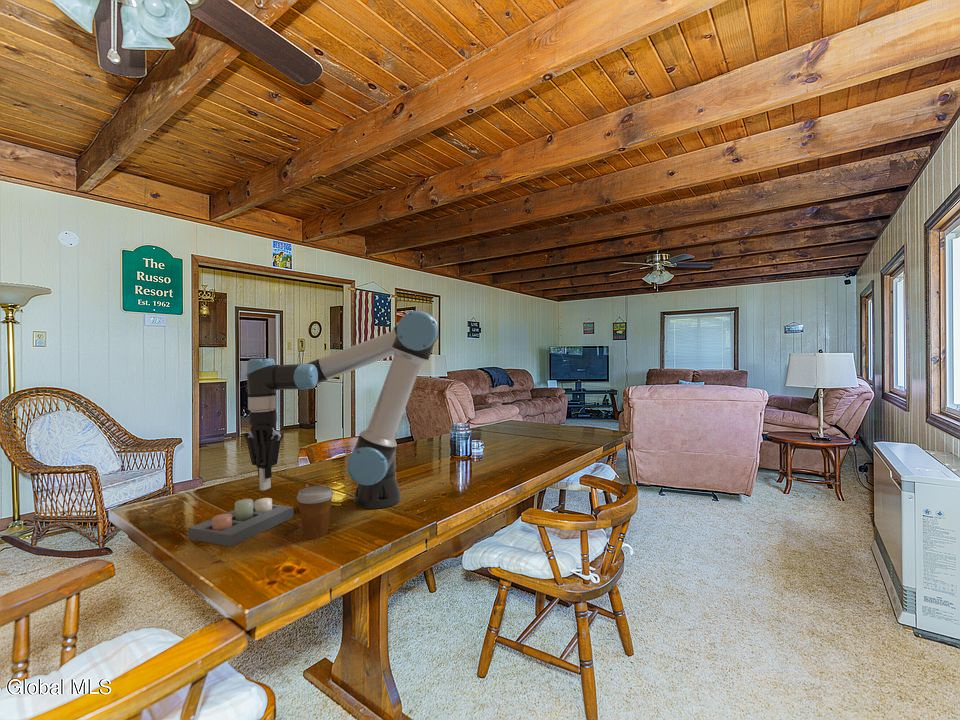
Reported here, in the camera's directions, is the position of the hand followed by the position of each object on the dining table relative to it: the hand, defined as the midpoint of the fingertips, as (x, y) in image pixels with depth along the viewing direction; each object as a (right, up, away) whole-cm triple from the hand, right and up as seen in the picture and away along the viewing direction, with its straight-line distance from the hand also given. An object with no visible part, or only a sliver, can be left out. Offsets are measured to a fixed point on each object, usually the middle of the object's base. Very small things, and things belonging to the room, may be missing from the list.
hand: (265, 488), depth 134 cm
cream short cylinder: (-1, -9, 0) cm, 9 cm away
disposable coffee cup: (+19, -9, -11) cm, 24 cm away
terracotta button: (-5, -9, -13) cm, 17 cm away
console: (-3, -9, -6) cm, 12 cm away
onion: (+9, -9, +8) cm, 15 cm away
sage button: (-3, -7, -7) cm, 10 cm away
